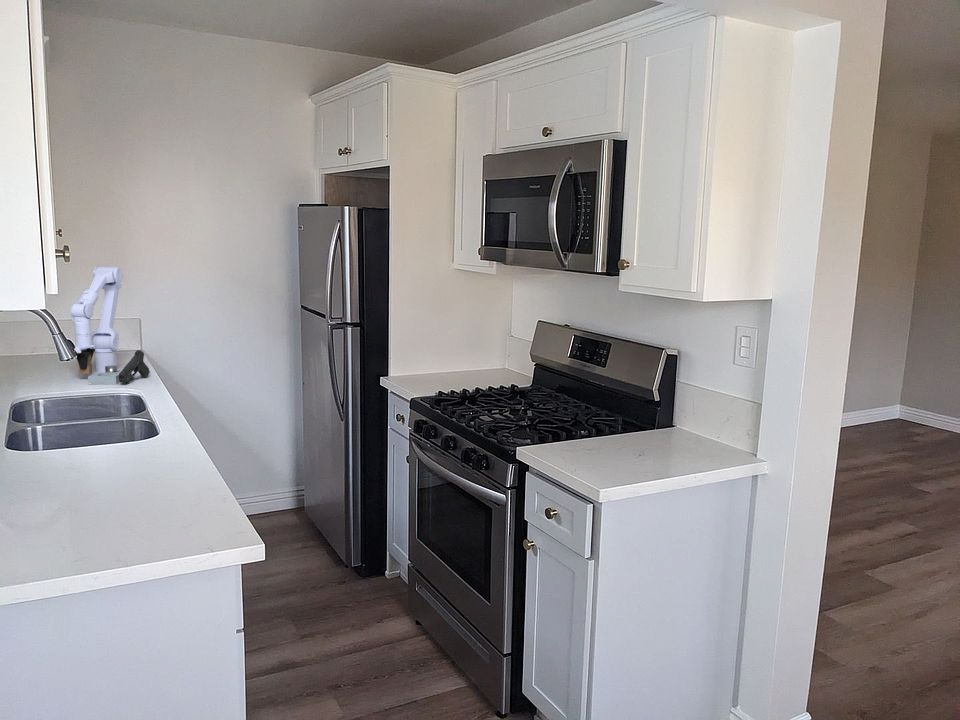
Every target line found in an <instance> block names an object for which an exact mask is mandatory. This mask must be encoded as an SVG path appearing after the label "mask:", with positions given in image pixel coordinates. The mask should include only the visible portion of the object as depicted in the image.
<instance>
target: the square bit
mask: <svg viewBox="0 0 960 720" xmlns="http://www.w3.org/2000/svg"><path fill="white" fill-rule="evenodd" d="M77 364H78V374H79V375H89V374H91V373H93V365H92V361H91V355H89V357H88V364H87V369H85V370H81V369H80V366H79V363H77Z"/></svg>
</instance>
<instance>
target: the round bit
mask: <svg viewBox="0 0 960 720" xmlns="http://www.w3.org/2000/svg"><path fill="white" fill-rule="evenodd" d="M117 367H118V365H117V366H115V365H111V366H105V372H119V371H118V370H117Z"/></svg>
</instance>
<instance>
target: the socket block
mask: <svg viewBox="0 0 960 720" xmlns="http://www.w3.org/2000/svg"><path fill="white" fill-rule="evenodd" d="M120 372H121V371H120ZM120 372H119V371H118V372H101V373H94V372H93V373H94V374H93V373H92V374H91V375H89V376H87V383H91V384H90V385H118V384H119V383H120V382H119V377H118V376H119V373H120Z"/></svg>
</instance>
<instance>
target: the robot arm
mask: <svg viewBox="0 0 960 720" xmlns="http://www.w3.org/2000/svg"><path fill="white" fill-rule="evenodd" d="M92 270H93V271H92V278H93V279H92V281H91V283H90V286H89V288H88V289H85V290H83V292H82V294H81V296H79V298H78V300H77V302H76V303H74V304H72V305H71V306H70V309H69V310H70V311H69V315H70V317H71V321H72V323H73V326H74V340H75V341H74V342H75V346H74V351H75V350H76V352H77V358H76V357H75V358H76V360H77V362H78V363H79V364H78V363H77V364H78V367H79V366H80V369H81V370H85V369H87V364H88V357H89V355H91V362H92V360H93V357H94V355H95V370H96V371H94V372H92V374H94V373H101V372H105V366H111V365H115V366H117V370H118V372H119V371H120V370H121V369H120V368H118V355H117V353H116V351H117V350H118V348H119V346H120V339H119V337H120V335H119V333H118V332H117V330H115V329H114V325H115V323H114V322H115V318H116V317H115V316H116V309H117V304H118V297H119V290H120V289H121V288H122V285H123V282H124V281H123V279H124V274H123V271H122V268H121V267H120V266H95V267H94V269H92ZM102 289H103V291H104V292H103V293H104V294H103V299H102V307H101V313H100V319H99V326H98V327H97V328H96V329H94V330H93V331H92V325H91V323H92V322H91V318H92V317H93V315H94V310H95V307H94V306H95V305H96V304H97V301H98V300H99V295H98V293H100V291H101V290H102Z"/></svg>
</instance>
